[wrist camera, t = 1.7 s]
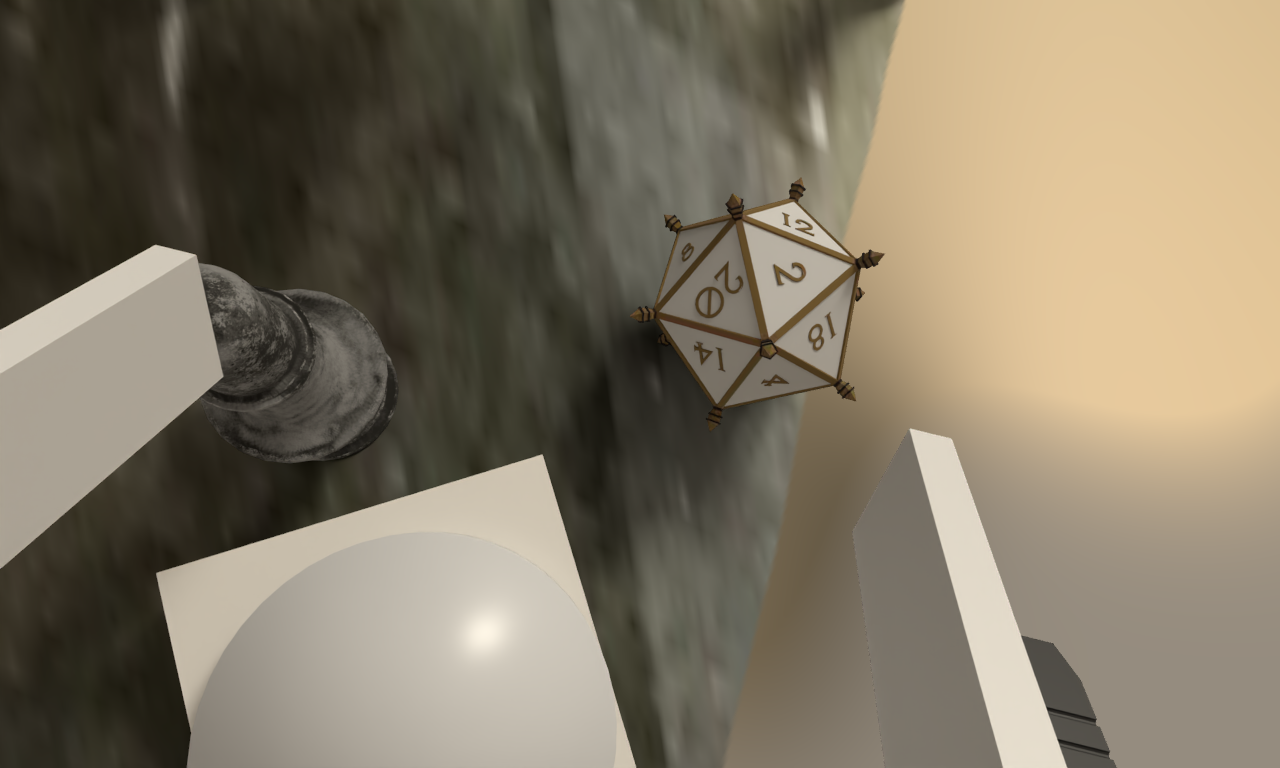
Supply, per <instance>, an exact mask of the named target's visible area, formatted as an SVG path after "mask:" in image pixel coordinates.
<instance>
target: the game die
mask: <svg viewBox="0 0 1280 768" xmlns="http://www.w3.org/2000/svg"><path fill="white" fill-rule="evenodd" d="M805 190H806V189H805V188H804V185H803V182H802V178H800V179H799V180H797V181H796V182H795V183H792V184H791V189H790V190H789V194H790V198H789V199H786V200H782V201H778V202H775V203H771V204H767V205H763V206H759V207H756V208H752V209H748V210H744V211H743V209H744V205H742V204H743V199H740V198H738V197H737V196H736V195H734V194H732V195H731V197H730V199H729V201H728V202H727V203H726V206H727V207H728V209H727V211H728V212H729V213H730V214H729V215H726V216H722V217H718V218H714V219H710V220H707V221H703V222H699V223H695V224H692V225H688V226H684V227H683V226H681V222H680V220H679V219H678V220H677V218H676V216H675V215H674V216H671V215H664V217H665V222H666V226H665V227H668V228H669V229H670V231H674V232H676V234H677V236H676V239H675V242H674V245H673V248H672V252H671V255H670V258H669V261H668V264H667V268H666V271H665V274H664V277H663V280H662V284H661V287H660V290H659V293H658V296H657V300H656V303H655V306H654V308H653V309H650V308H648V307H647V306H645V308H641V306H640V307H639V308H638V310H636V311H635V312H634V313H633V314H632V315H631V316H630V317H632V318H634V319H636V320H638V322H641V323H643V322H644V321H648V322H649V321H650V320H651V319H655V321H656V322H657V324H658V325H659V327H660V328H661V330H662V331H663V334H661V335H659V339H658V341H657V342H658V343H661V344H663V345H665V346H668V344H672V346H673V347H674V349H675V350H676V352H677V353H678V355H679V356H680V358H681V359H682V360H683V362H684V363H685V365H686V366H687V368H688V369H689V371H690V372H691V374H692V375H693V377H694V378H695V380H696V381H697V382H698V384H699V385H700V387H701V388H702V390H703V391H704V393H705V394H706V396H707V397H708V399H709V400H710V401H711V403H712V404H713V406H714V407H713V409H712V411H711V412H709V413H708V414H709V416H708V418H706V420H707V422H708V426H709V430H710V431H712V430H713V429H714V428H715V427H716V426H717V425H719V424H721V423H720V419H721V418H722V416H721V414H722V410H723V409H728V408H732V407H737V406H742V405H746V404H751V403H756V402H760V401H765V400H769V399H774V398H779V397H783V396H788V395H793V394H797V393H802V392H807V391H811V390H816V389H820V388H825V387H830V386H834V387H836V389H837V391H838V392H837V393H838V394H839V393H840V395H841V396H842V398H846V399H850V400H853V401H856V398H855V394H854V387H853V388H852V387H851V386H850V385H849V383H846V382H843V381H842V380H841V375H842V369H843V364H844V358H845V352H846V347H847V341H848V336H849V331H850V325H851V319H852V313H853V308H854V302H855V300H856V301H859V299H860V298H861V297H862V295H864V294H865V292H863V291H862V290H861V288H857V286H858V280H859V275H860V269H861V268H866V269H867V268H870V267H871V266H873V267H874V266H876V265H878V262H879V261H880V259H881V258H882V257H883V256H884V254H883V253H878V252H873V251H872V250H869V252H868V253H866V254H865V253H862V256H861V257H860V258H858V259H856V258H855V257H854V256H853V255H852V254H851V253H850V252H849V251H848V250H847V249H846V248H845V247H844V246H843V245H842V244H841V243H839V242H838V241H837V240H836V239H835V238H834V237H833V236H832V235H831V234H830V233H829V232H828V231H827V230H826V229H825V228H824V227H823V226H822V225H821V224H820V223H819V222H818V221H817V220H816V219H815V218H814V217H812V216H811V215H810V214H809V213H808V212H807V211H806V210H805V209H804V208H803V207H802V206H801V205H800V204H799V203H798V200H799V198H800V197H802V196H803V194H802V193H803V191H805Z"/></svg>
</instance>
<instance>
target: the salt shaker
mask: <svg viewBox="0 0 1280 768" xmlns="http://www.w3.org/2000/svg"><path fill="white" fill-rule="evenodd" d="M198 265H199V269H200V274H201V278H202V283H203V287H204V292H205V296H206V301H207V305H208V310H209V314H210V319H211V323H212V328H213V332H214V337H215V341H216V346H217V350H218V355H219V359H220V364H221V368H222V373H223V378H221V379H220V380H219V381H218V382H217V383H216V384H214V385H213V386H212V387H211V388H210V389H209V390H207V391H206V392H205V393H204V394H203V395H202V396H200V397H199V398H200V400H201V403H202V406H203V409H204V411H205V414H206V417H207V419H208V420H209V422H210V423H211V424H212V426H213V427H214V428H215V430H216V431H217V432H218V433H219V435H220V436H221V437H222V438H223V439H224V440H226V441H227V442H228V443H230V444H231V445H233V446H234V447H235V448H237V449H238V450H239V451H241V452H243V453H246V454H248V455H251V456H254V457H256V458H259V459H261V460H264V461H273V462H282V463H296V462H303V461H310V460H318V461H326V460H333V459H340V458H344V457H346V456H349V455H351V454H354V453H356V452H359V451H361V450H362V449H364V448H365V447H366V446H368V445H369V444H370V443H372V442H373V441H375V440H376V439H377V438H378V436H379V435H380V434H381V433H382V432H383V430H384V429H385V428H386V427H387V426H388V424H389V422H390V419H391V417H392V415H393V413H394V411H395V409H396V403H397V397H398V382H397V374H396V371H395V369H394V366H393V364H392V361H391V359H390V357H389V356H388V355H387V353H386V352H385V350H384V347H383V345H382V342H381V340H380V338H379V335H378V333H377V331H376V330H375V329H374V327H373V326H372V325H371V324H370V322H369V321H368V320H367V318H366V317H365V316H364V315H363V314H362V313H361V312H359V311H358V310H357V309H355V308H354V307H353V306H351V305H350V304H349V303H347V302H346V301H344V300H342V299H339V298H337V297H334V296H332V295H330V294H327V293H325V292H320V291H312V290H305V289H292V290H282V291H275V290H272V289H270V288H265V287H258V286H251V285H250V284H249V283H247V282H246V281H245V280H243V279H242V278H241V277H239V276H238V275H236V274H235V273H233V272H230V271H228V270H226V269H223V268H221V267H217V266H214V265H208V264H201V263H198Z"/></svg>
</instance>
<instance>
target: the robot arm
mask: <svg viewBox="0 0 1280 768" xmlns="http://www.w3.org/2000/svg"><path fill="white" fill-rule="evenodd" d="M221 378H223V373H222V368H221V364H220V359H219V355H218V350H217V346H216V341H215V337H214V332H213V328H212V323H211V319H210V314H209V310H208V305H207V301H206V296H205V292H204V287H203V283H202V278H201V274H200V269H199V265H198V260H197V256H196V255H195V254H191V253H187V252H183V251H179V250H174V249H170V248H166V247H162V246H158V245H154V246H152V247H151V248H149V249H147V250H145V251H143V252H142V253H140V254H138V255H136V256H134V257H132V258H131V259H129V260H127V261H125V262H123V263H121V264H120V265H118V266H116V267H114V268H112V269H111V270H109V271H107V272H105V273H103V274H101V275H100V276H98V277H96V278H94V279H92V280H91V281H89V282H87V283H85V284H83V285H81V286H80V287H78V288H76V289H74V290H72V291H70V292H69V293H67V294H65V295H63V296H61V297H60V298H58V299H56V300H54V301H52V302H50V303H49V304H47V305H45V306H43V307H41V308H40V309H38V310H36V311H34V312H32V313H30V314H29V315H27V316H25V317H23V318H21V319H19V320H18V321H16V322H14V323H12V324H10V325H9V326H7V327H5V328H3V329H1V330H0V569H1V568H2V567H3V566H4V565H5V564H6V563H8V562H9V561H10V560H11V559H12V558H13V557H15V556H16V555H17V554H18V553H19V552H20V551H22V550H23V549H24V548H25V547H26V546H27V545H29V544H30V543H31V542H32V541H33V540H34V539H35V538H37V537H38V536H39V535H40V534H41V533H42V532H44V531H45V530H46V529H47V528H48V527H49V526H51V525H52V524H53V523H54V522H55V521H56V520H58V519H59V518H60V517H61V516H62V515H63V514H65V513H66V512H67V511H68V510H69V509H70V508H72V507H73V506H74V505H75V504H76V503H77V502H78V501H80V500H81V499H82V498H83V497H84V496H85V495H87V494H88V493H89V492H90V491H91V490H92V489H94V488H95V487H96V486H97V485H98V484H99V483H101V482H102V481H103V480H104V479H105V478H106V477H108V476H109V475H110V474H111V473H112V472H113V471H114V470H116V469H117V468H118V467H119V466H120V465H121V464H123V463H124V462H125V461H126V460H127V459H128V458H130V457H131V456H132V455H133V454H134V453H135V452H137V451H138V450H139V449H140V448H141V447H142V446H144V445H145V444H146V443H147V442H148V441H149V440H150V439H152V438H153V437H154V436H155V435H156V434H157V433H159V432H160V431H161V430H162V429H163V428H164V427H166V426H167V425H168V424H169V423H170V422H171V421H173V420H174V419H175V418H176V417H177V416H178V415H180V414H181V413H182V412H183V411H184V410H185V409H187V408H188V407H189V406H190V405H191V404H192V403H193V402H195V401H196V400H197V399H198V398H199V397H200V396H202V395H203V394H204V393H205V392H206V391H207V390H209V389H210V388H211V387H212V386H213V385H214V384H216V383H217V382H218V381H219V380H220V379H221ZM852 533H853V541H854V548H855V555H856V562H857V570H858V577H859V584H860V591H861V598H862V606H863V613H864V620H865V627H866V634H867V642H868V649H869V656H870V663H871V671H872V678H873V685H874V692H875V699H876V707H877V713H878V721H879V728H880V736H881V742H882V750H883V757H884V764H885V768H1116V765H1115V763H1114V761H1113V760H1111V759H1110V758H1109V752H1110V751H1109V748H1108V746H1107V743H1106V741H1105V738H1104V736H1103V733H1102V731H1101V729H1100V727H1098V726H1096V716H1095V714H1094V711H1093V709H1092V707H1091V704H1090V702H1089V699H1088V697H1087V694H1086V692H1085V689H1084V687H1083V685H1082V682H1081V680H1080V679H1079V677H1078V676H1077V675H1076V673H1075V672H1074V671H1073V669H1072V668H1071V667H1070V666H1069V664H1068V663H1067V662H1066V660H1065V659H1064V658H1063V656H1062V655H1061V654H1060V652H1059V651H1058V649H1057V648H1056V647H1055V646H1054V644H1053V643H1049V642H1045V641H1041V640H1037V639H1033V638H1029V637H1025V636H1021V635H1020V632H1019V629H1018V626H1017V623H1016V621H1015V618H1014V615H1013V612H1012V609H1011V607H1010V604H1009V601H1008V598H1007V595H1006V592H1005V589H1004V586H1003V583H1002V581H1001V578H1000V575H999V572H998V569H997V567H996V564H995V561H994V558H993V555H992V552H991V549H990V546H989V544H988V541H987V538H986V535H985V532H984V530H983V527H982V524H981V521H980V518H979V515H978V512H977V509H976V507H975V504H974V501H973V498H972V495H971V492H970V490H969V487H968V484H967V481H966V478H965V475H964V473H963V470H962V467H961V464H960V461H959V458H958V455H957V452H956V450H955V447H954V444H953V441H952V439H951V438H947V437H942V436H938V435H934V434H930V433H926V432H922V431H918V430H914V429H909V430H908V432H907V434H906V435H905V437H904V439H903V441H902V443H901V444H900V446H899V448H898V450H897V452H896V453H895V455H894V457H893V459H892V461H891V462H890V464H889V466H888V468H887V470H886V471H885V473H884V475H883V477H882V479H881V481H880V482H879V484H878V486H877V488H876V489H875V491H874V493H873V495H872V497H871V498H870V500H869V502H868V504H867V506H866V507H865V509H864V511H863V513H862V515H861V516H860V518H859V520H858V522H857V524H856V525H855V527H854V529H853V531H852Z"/></svg>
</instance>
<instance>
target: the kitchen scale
mask: <svg viewBox="0 0 1280 768" xmlns="http://www.w3.org/2000/svg"><path fill="white" fill-rule="evenodd" d="M156 576H157V580H158V585H159V589H160V594H161V598H162V603H163V607H164V612H165V616H166V621H167V625H168V630H169V634H170V639H171V643H172V648H173V653H174V657H175V662H176V666H177V671H178V675H179V680H180V684H181V689H182V693H183V698H184V702H185V707H186V711H187V716H188V720H189V725H190V729H191V738H190V746H189V754H188V762H187V768H636V765H635V762H634V759H633V755H632V752H631V749H630V745H629V742H628V739H627V735H626V732H625V729H624V725H623V722H622V719H621V715H620V712H619V709H618V705H617V702H616V699H615V695H614V692H613V689H612V685H611V681H610V676H609V672H608V668H607V666H606V663H605V660H604V657H603V655H602V652H601V648H600V645H599V642H598V638H597V635H596V632H595V628H594V625H593V622H592V618H591V615H590V612H589V608H588V605H587V602H586V598H585V595H584V591H583V588H582V585H581V581H580V578H579V575H578V571H577V568H576V565H575V561H574V558H573V555H572V551H571V548H570V545H569V541H568V538H567V535H566V531H565V528H564V525H563V521H562V518H561V515H560V511H559V508H558V505H557V501H556V498H555V494H554V491H553V488H552V484H551V481H550V478H549V474H548V471H547V468H546V464H545V461H544V458H543V455H539V456H536V457H533V458H530V459H526V460H523V461H520V462H517V463H513V464H510V465H507V466H503V467H500V468H497V469H494V470H490V471H487V472H484V473H481V474H477V475H474V476H471V477H468V478H464V479H461V480H458V481H455V482H451V483H448V484H445V485H442V486H438V487H435V488H432V489H429V490H425V491H422V492H419V493H416V494H412V495H409V496H406V497H402V498H399V499H396V500H393V501H389V502H386V503H383V504H380V505H376V506H373V507H370V508H367V509H363V510H360V511H357V512H354V513H350V514H347V515H344V516H341V517H337V518H334V519H331V520H328V521H324V522H321V523H318V524H315V525H311V526H308V527H305V528H301V529H298V530H295V531H292V532H288V533H285V534H282V535H279V536H275V537H272V538H269V539H266V540H262V541H259V542H256V543H253V544H249V545H246V546H243V547H240V548H236V549H233V550H230V551H227V552H223V553H220V554H217V555H214V556H210V557H207V558H204V559H200V560H197V561H194V562H191V563H187V564H184V565H181V566H178V567H174V568H171V569H168V570H165V571H161V572H158V573H156Z"/></svg>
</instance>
